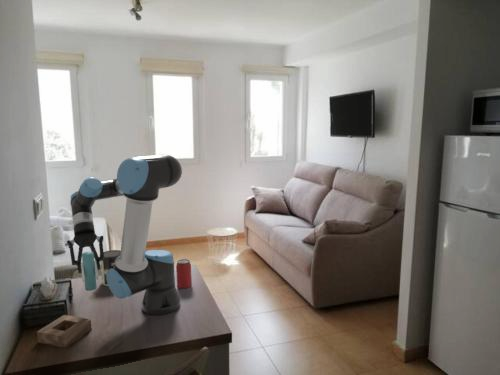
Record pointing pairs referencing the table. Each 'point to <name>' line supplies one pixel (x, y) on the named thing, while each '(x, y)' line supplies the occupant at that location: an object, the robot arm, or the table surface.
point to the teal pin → (89, 271)
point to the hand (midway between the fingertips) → (90, 278)
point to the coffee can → (108, 263)
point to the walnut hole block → (64, 331)
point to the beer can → (183, 273)
